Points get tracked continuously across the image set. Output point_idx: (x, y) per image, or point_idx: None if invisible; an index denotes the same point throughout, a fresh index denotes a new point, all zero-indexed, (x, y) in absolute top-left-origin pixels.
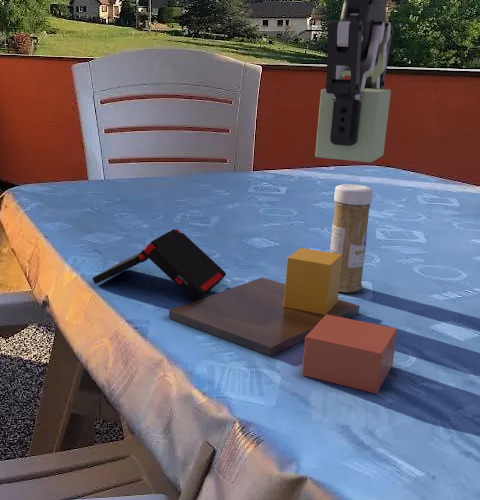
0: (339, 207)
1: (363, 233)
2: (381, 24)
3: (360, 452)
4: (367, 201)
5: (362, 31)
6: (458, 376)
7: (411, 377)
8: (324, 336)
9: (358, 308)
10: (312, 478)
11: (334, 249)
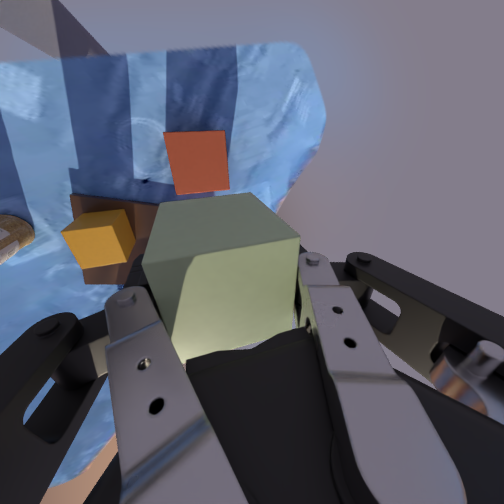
0: None
1: None
2: (456, 482)
3: (291, 119)
4: None
5: (470, 407)
6: (141, 71)
7: (174, 112)
8: (220, 178)
9: (72, 194)
10: (321, 135)
11: (6, 257)
